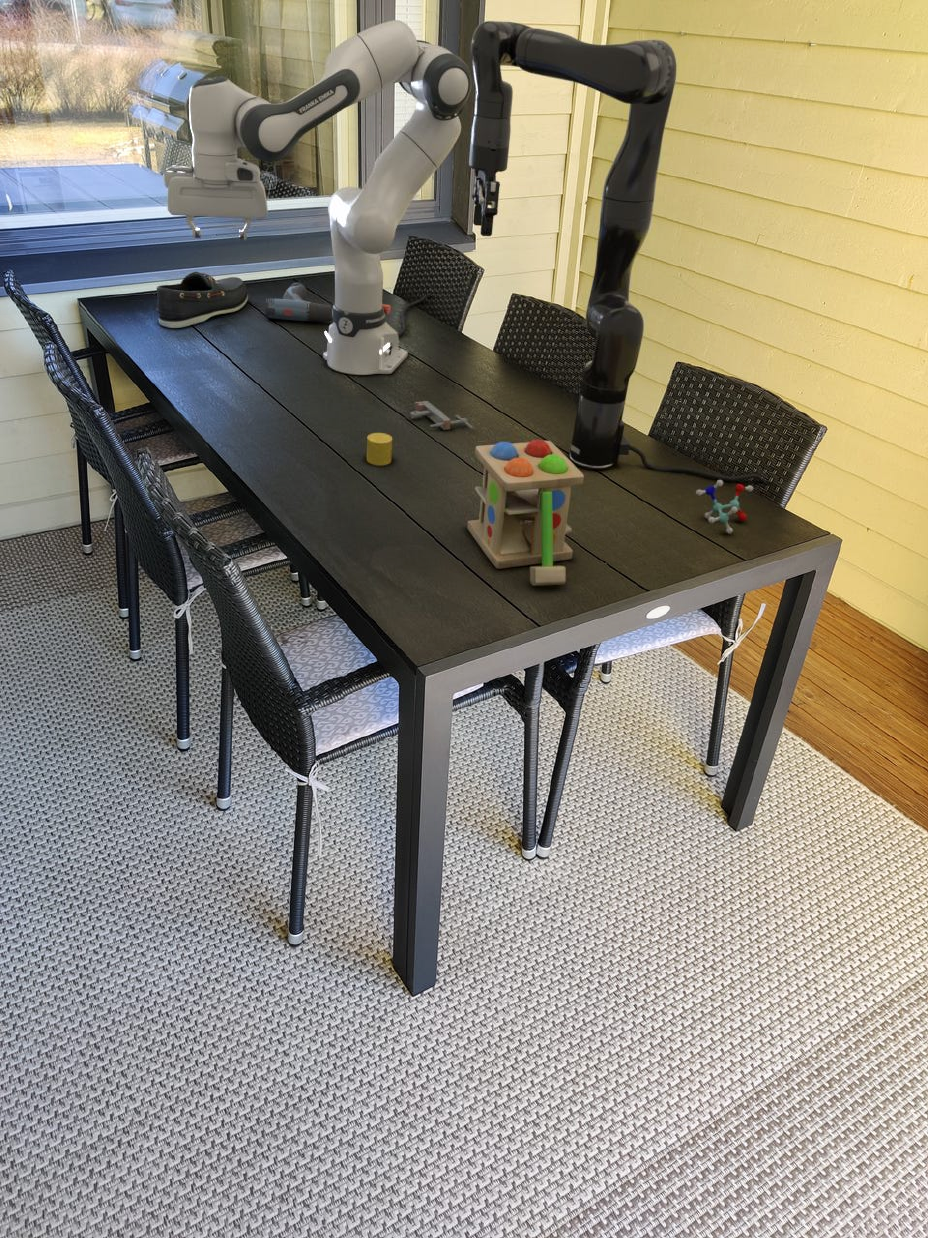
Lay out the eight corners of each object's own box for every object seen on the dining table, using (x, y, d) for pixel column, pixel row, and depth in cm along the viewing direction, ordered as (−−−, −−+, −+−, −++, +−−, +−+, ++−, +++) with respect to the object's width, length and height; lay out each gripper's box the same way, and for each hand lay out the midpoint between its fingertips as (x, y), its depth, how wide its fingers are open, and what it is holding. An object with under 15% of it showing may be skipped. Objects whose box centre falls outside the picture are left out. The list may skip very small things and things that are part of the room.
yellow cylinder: (374, 467, 192) (374, 444, 190) (362, 457, 195) (362, 434, 193) (395, 463, 195) (396, 440, 192) (383, 453, 198) (384, 431, 195)
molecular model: (759, 527, 176) (743, 474, 175) (707, 542, 180) (691, 490, 179) (762, 518, 187) (747, 467, 185) (712, 532, 190) (698, 483, 189)
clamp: (402, 403, 214) (442, 397, 219) (402, 412, 215) (442, 407, 220) (435, 430, 204) (476, 423, 208) (434, 439, 205) (475, 433, 209)
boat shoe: (266, 306, 270) (264, 267, 265) (176, 330, 246) (172, 288, 241) (231, 297, 276) (229, 259, 270) (140, 320, 252) (135, 279, 246)
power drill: (344, 304, 276) (335, 327, 259) (277, 298, 275) (264, 321, 258) (344, 285, 273) (335, 306, 256) (277, 279, 272) (264, 300, 255)
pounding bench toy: (594, 585, 162) (612, 488, 152) (515, 596, 157) (528, 496, 147) (538, 519, 179) (551, 428, 169) (466, 527, 175) (475, 434, 165)
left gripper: (160, 167, 194) (167, 240, 202) (266, 173, 198) (268, 244, 206) (163, 161, 199) (170, 232, 207) (266, 167, 203) (268, 236, 211)
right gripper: (464, 134, 194) (458, 220, 203) (477, 147, 182) (469, 238, 191) (501, 137, 195) (493, 222, 204) (516, 149, 183) (507, 240, 193)
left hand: (220, 238), depth 206 cm, fingers open, 8 cm apart
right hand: (482, 230), depth 198 cm, fingers open, 8 cm apart
